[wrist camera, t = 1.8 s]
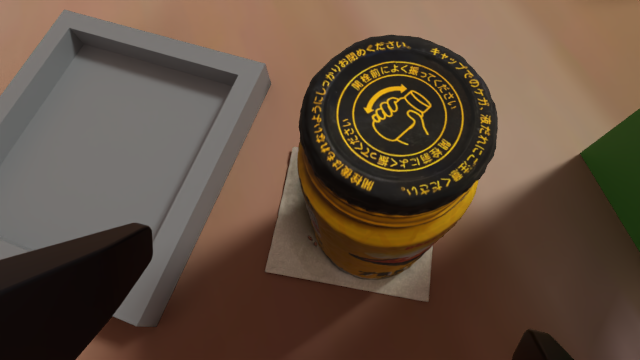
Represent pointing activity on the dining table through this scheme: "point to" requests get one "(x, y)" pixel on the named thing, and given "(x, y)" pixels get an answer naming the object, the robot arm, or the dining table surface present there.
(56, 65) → the slate tray
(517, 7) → the dining table surface
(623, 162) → the hardback book
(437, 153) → the condiment
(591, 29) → the dining table surface
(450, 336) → the dining table surface
